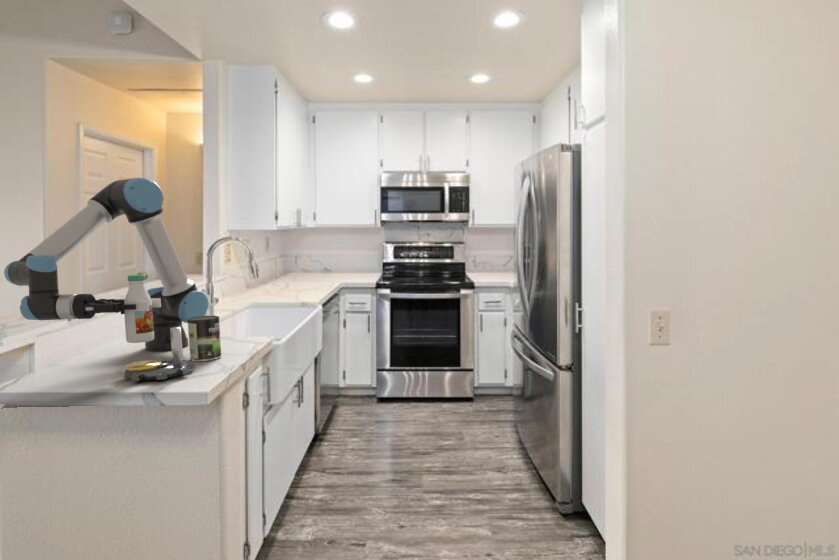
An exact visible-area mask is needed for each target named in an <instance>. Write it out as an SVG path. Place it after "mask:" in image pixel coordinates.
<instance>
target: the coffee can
mask: <svg viewBox="0 0 839 560" xmlns="http://www.w3.org/2000/svg"><path fill="white" fill-rule="evenodd" d="M187 321H188V323H187V328H188V346H189V361H191V360H192V361H191V362H195V361H203V362H208V361H207V360H212V361H214V360H213V359H216V360H219V359H221V358H222V357H223V356H222V346H221V344H222V343H221V331H220V330H221V328H220V316H218V315H205V316H199V317H192V318H189V319H187ZM220 357H221V358H220ZM218 358H219V359H218Z"/></svg>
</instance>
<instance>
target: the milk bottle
mask: <svg viewBox="0 0 839 560" xmlns="http://www.w3.org/2000/svg"><path fill="white" fill-rule="evenodd" d="M127 281H128V289H127V292H126V295H125V298H124V299H125V301H124V305H125V302H149V311H129V312H126V310H125V314H123V315H124V328H125V329H124V330H125V340H126V343H129V344H140V343H141V344H142V343H145V342H148V341H152V340H154V323H153V309H152V301H151V298H150V296H149V294H148V292H147V291H148V289H147V288H146V285H145V282H146V277H145V274H129V275H127Z"/></svg>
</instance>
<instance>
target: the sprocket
mask: <svg viewBox="0 0 839 560" xmlns="http://www.w3.org/2000/svg"><path fill="white" fill-rule="evenodd" d="M170 332H171V346H172V350H171V358H172V359H171V360H158V359H157V360H156V359H153V360H152V359H151V360H150V359H149V360H147V359H146V360H140V361H135V362H130V363H128V364H127V363H126V365H124V370H123V378H124V379H126V378H131V381H137V382H139V381H142V380H143V381H149V380H157V381H159V380H166V379H168V378H173V377H177V376H184V375H187V374H190V372H191V371H190V370H195V369H196V367H195V365H196V364H195V361H190V362H187V360H186V359H184V354H183V353H184V352H183V351H184V350H183V348H182V335H181V327H172V328H170Z"/></svg>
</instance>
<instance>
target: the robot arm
mask: <svg viewBox="0 0 839 560" xmlns="http://www.w3.org/2000/svg"><path fill="white" fill-rule="evenodd" d="M164 197H165V196H164V193H163V191H162V188H161V187H160V186H159V185H158V183H157V182H155V181H154V180H152V179H149V178H148V177H147V178H146V177H132V178H126V179H119V180H115V181H112V182H110V183H109V184H108V185H106V186H105V187H103V188H102V189H101V190H100V191H98V192H97V193H96V194H95V195H94V196H92V197H91V198H90V199H89V200H88V201H87V203H86V206H85V207H84V208H83V209H81V210H80V211H78V213H76V214H75V215H74V216H72V217H71V218H70V219H69V220H68V221H67V222H65V223H64V224H62V225H61V226H60V227H59V228H58V229H56V230H55V231H54V232H53V233H52V234H50V235H49V236H48V237H46V238H45V239H44V240H43V241H41V242H40V243H39V244H38V245H36V246H35V247H34V248H32V250H30V251H29V252H28V253H27V254H25V255H23V256H22V257H21V258H20V259H19V260H13V261H12V262H10V263H8V264H7V265H6V266H5V267H4V272H3V273H4V277H5V280H6V281H7V282H8V283H10V284H12V285H15V286H18V287H23V286H24V287H25V286H27V287H28V294H27V295H25V296H24V297H23V298H22V299H21V300H20V305H19V311H20V314H21V316H22V317H23V318H25V320H28V321H41V322H42V321H57V320H58V321H59V320H66V321H68V322H71V321H72V320H78V319H79V320H90V319H92V318H93V317H95V315H96V314H101V313H103V314H104V313H107V314H109V313H111V314H112V313H116V314H118V313H120V315H124V314H125V310H126V312H129V311H149V302H125V305H124V301H125V298H117V299H115V298H107V299H106V298H99V299H96V297H95V296H94V294H91V293H78V294H77V293H70V294H69V293H67V294H66V293H62V294H60V292H59V291H60V290H59V279H58V278H59V276H58V275H59V274H58V268H59V267H58V264H57V263H58V262H59V261H61V260H62V259H63V258H65V256H67V255H68V254H69V253H70V252H72V250H74V249H75V248H76V247H77V246H79V245H80V244H81V243H82V242H84V241H85V240H86V239H87V238H88V237H89V236H91V235H92V234H93V233H94V232H95V231H97V230H98V229H99V228H100V227H101V226H102V225H104V224H105V223H107V224H109V223H111V222H113V220H115V219H117V218H118V217H120V216H123V215H125V217H126V219H127V221H128V223H129V224H131V225H133V226H135V227H136V229H137V232H138V234H139V236H140V238H141V240H142V242H143V245H144V246H145V249H146V252H147V253H148V256H149V258H150V260H151V262H152V264H153V266H154V269H155V271H156V274H157V276H158V277H159V279H160V280H159V281H160V282H161V284H162V286H159V287H151V288H149V289H147V292H148V294H149V296H150V298H151V301H152V309H153V323H154V340H152V341H148V342H144V347H145V350H146V351H148V352H149V351H152V352H160V351H161V352H164V351H172V346H171V332H170V328H172V327H181V335H182V349H183V348H186V347H188V346H189V337H187V334H186V332H185V329H184V326H183V323H184V324H188V321H187V319H189V318H192V317H199V316H207V315H206V314H207V312H208V309H209V304H210V303H209V299H208V296H207V295H206V294H205V293H204V292H203V291H201V290H198V288H197V285H196V283H195V281H194V280H192V279H189V278H188V276H187V274H186V271H185V269H184V266H183V264H182V263H181V259H180V257H179V256H178V253H177V250H176V248H175V245H174V243H173V241H172V239H171V237H170V235H169V233H168V230H167V228H166V225H165V223H164V221H163V218H162V216H163V215H164V212H165V211H164V209H163V207H162V206H163V202H164Z"/></svg>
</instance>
